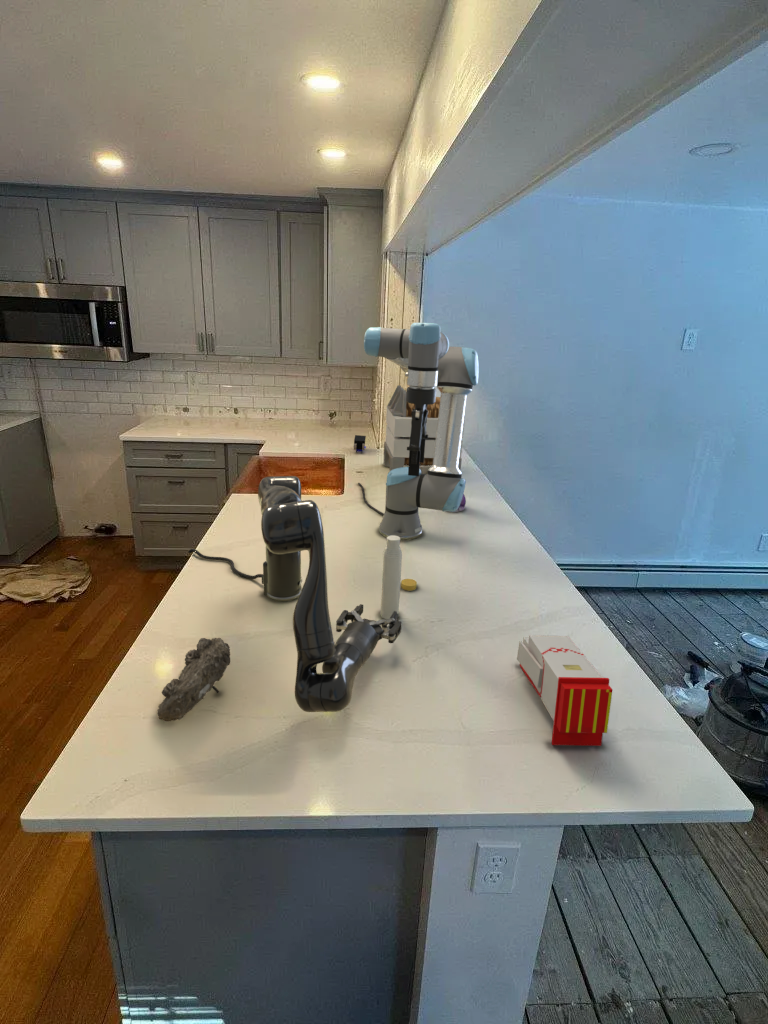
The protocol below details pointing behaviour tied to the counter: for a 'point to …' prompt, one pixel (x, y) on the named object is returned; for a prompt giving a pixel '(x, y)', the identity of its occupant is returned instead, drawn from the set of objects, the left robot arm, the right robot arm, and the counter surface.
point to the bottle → (391, 577)
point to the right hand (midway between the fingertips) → (416, 468)
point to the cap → (408, 584)
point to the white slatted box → (408, 431)
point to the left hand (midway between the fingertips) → (378, 611)
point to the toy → (567, 688)
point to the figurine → (462, 504)
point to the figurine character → (359, 443)
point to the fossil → (195, 678)
